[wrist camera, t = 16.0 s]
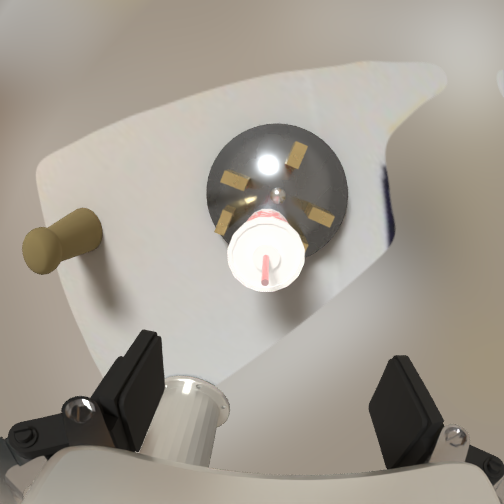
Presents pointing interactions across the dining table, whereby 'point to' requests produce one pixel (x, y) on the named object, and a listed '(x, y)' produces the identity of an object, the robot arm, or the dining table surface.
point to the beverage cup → (266, 252)
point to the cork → (62, 240)
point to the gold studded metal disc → (279, 183)
